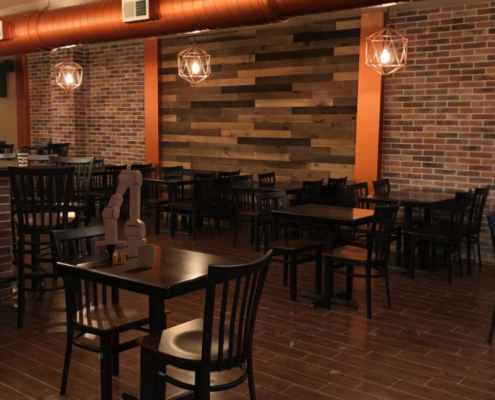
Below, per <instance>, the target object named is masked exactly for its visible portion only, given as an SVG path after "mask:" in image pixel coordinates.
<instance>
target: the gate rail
mask: <svg viewBox="0 0 495 400" xmlns="http://www.w3.org/2000/svg"><path fill="white" fill-rule="evenodd" d="M118 261H119V260H118V257H117V252H114V253H113V261H112V265H114V266H116V265H117V264H118Z"/></svg>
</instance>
